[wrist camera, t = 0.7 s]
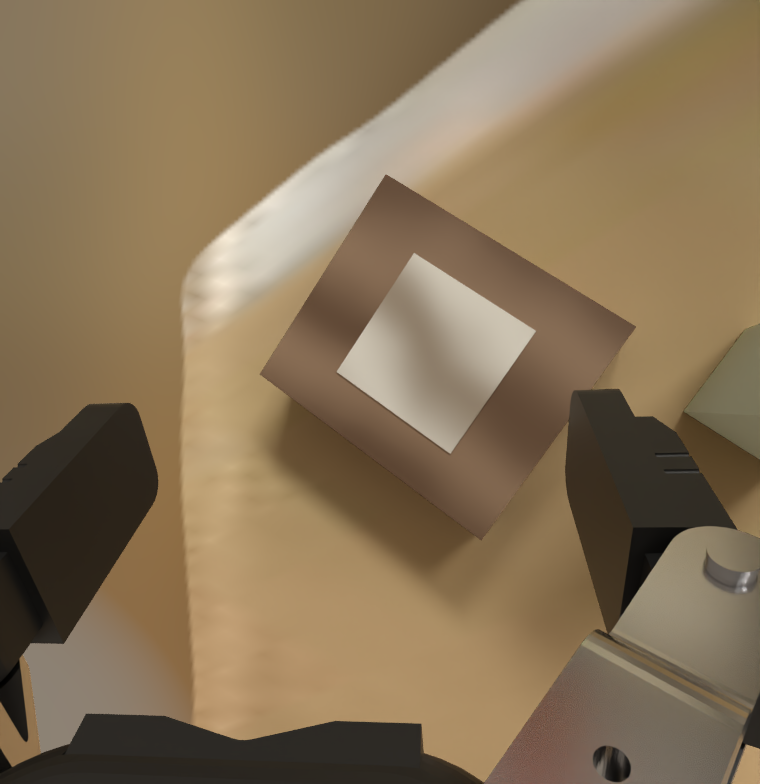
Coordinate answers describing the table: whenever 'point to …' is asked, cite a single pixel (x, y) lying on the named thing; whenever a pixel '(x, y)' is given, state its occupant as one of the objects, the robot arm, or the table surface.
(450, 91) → the table surface
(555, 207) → the table surface
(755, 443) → the pillar
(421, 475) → the plinth
